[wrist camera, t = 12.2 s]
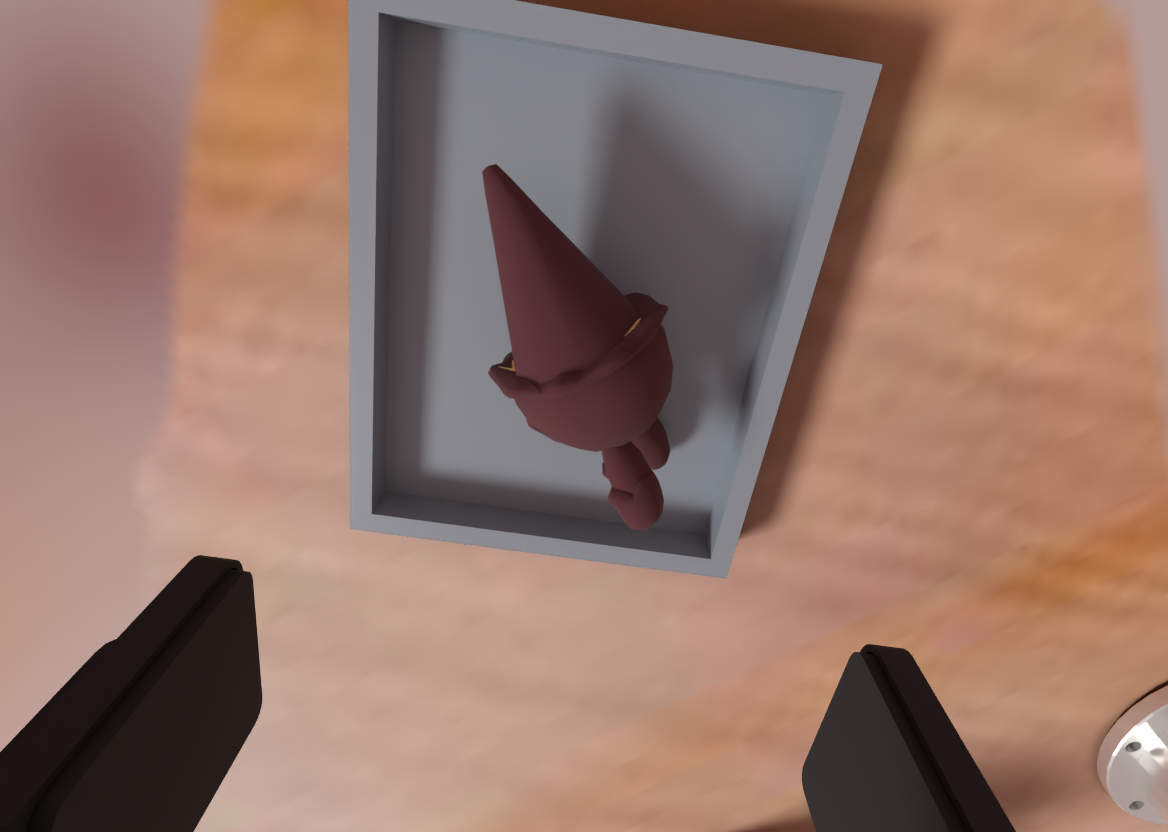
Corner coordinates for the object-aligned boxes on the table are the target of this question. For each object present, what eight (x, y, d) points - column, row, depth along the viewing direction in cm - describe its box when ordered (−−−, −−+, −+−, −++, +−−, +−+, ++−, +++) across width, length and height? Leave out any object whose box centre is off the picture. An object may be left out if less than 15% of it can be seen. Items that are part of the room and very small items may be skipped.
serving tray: (855, 69, 24) (882, 64, 22) (717, 547, 33) (726, 578, 31) (372, -15, 23) (348, -29, 21) (367, 500, 32) (349, 528, 30)
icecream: (354, 241, 20) (562, 566, 27) (558, 144, 17) (734, 537, 24) (439, 180, 26) (594, 462, 32) (605, 99, 23) (737, 428, 30)
